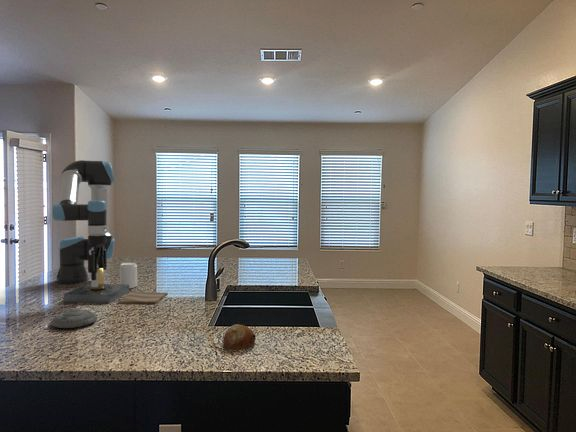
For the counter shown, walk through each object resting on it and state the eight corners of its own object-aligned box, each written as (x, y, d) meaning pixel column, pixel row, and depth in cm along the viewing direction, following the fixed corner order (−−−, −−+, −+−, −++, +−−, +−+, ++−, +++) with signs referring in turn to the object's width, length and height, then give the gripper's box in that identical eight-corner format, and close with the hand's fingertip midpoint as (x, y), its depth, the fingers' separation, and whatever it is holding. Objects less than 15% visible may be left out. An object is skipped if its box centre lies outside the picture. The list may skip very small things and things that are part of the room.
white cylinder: (131, 289, 195) (130, 265, 194) (116, 288, 197) (116, 264, 196) (140, 286, 203) (140, 262, 202) (126, 285, 205) (125, 262, 204)
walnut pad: (133, 294, 187) (133, 291, 187) (167, 294, 186) (167, 292, 186) (118, 303, 171) (118, 301, 171) (155, 304, 170) (155, 301, 170)
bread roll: (229, 349, 132) (219, 327, 131) (258, 335, 132) (248, 314, 132) (228, 361, 122) (216, 338, 121) (258, 347, 122) (247, 324, 122)
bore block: (87, 291, 191) (87, 283, 191) (128, 291, 191) (128, 284, 191) (63, 302, 171) (63, 294, 171) (109, 303, 171) (109, 295, 171)
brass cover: (95, 295, 183) (95, 267, 183) (106, 295, 183) (105, 267, 183) (89, 298, 178) (89, 269, 178) (100, 298, 178) (100, 269, 178)
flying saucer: (65, 334, 134) (64, 318, 133) (41, 326, 141) (41, 310, 141) (105, 322, 146) (105, 308, 146) (82, 315, 154) (82, 301, 154)
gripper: (95, 236, 170) (96, 290, 172) (114, 232, 188) (115, 281, 190) (78, 236, 171) (78, 290, 172) (98, 232, 188) (99, 281, 190)
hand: (97, 285), depth 181 cm, fingers closed on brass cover, 5 cm apart
